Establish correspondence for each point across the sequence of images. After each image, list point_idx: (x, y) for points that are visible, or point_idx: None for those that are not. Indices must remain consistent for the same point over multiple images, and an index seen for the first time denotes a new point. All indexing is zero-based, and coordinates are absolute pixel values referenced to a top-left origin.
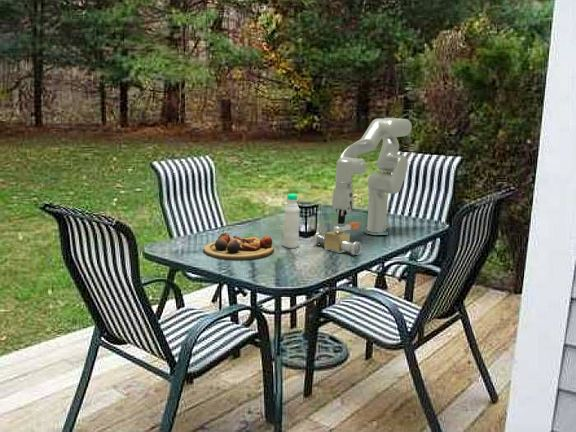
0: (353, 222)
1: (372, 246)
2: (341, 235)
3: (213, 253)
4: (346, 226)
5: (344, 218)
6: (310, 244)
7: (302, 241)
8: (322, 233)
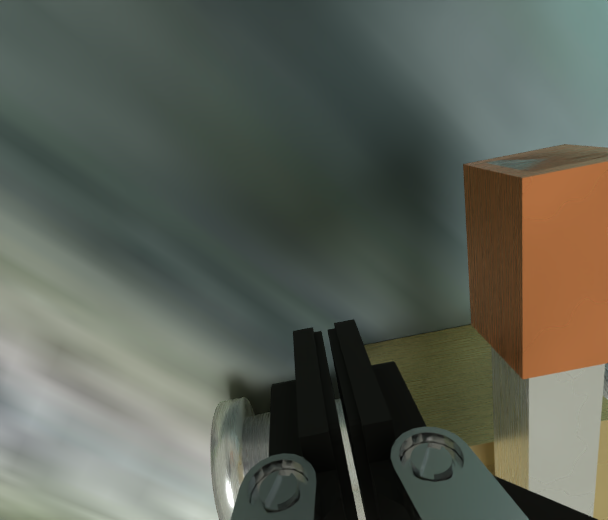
0: (562, 264)
1: (548, 5)
2: (598, 514)
3: None
4: (589, 459)
5: (416, 415)
6: (198, 456)
7: (90, 463)
8: (239, 474)
